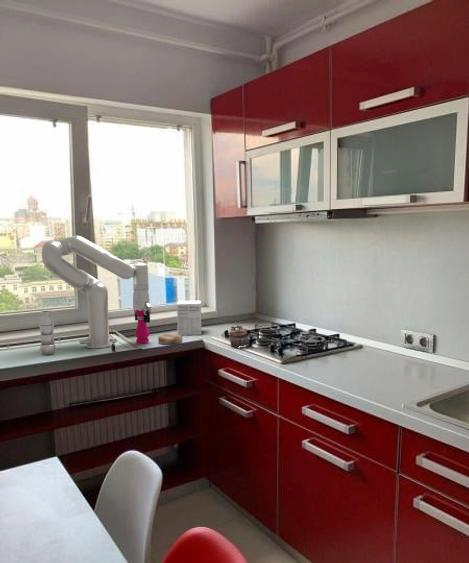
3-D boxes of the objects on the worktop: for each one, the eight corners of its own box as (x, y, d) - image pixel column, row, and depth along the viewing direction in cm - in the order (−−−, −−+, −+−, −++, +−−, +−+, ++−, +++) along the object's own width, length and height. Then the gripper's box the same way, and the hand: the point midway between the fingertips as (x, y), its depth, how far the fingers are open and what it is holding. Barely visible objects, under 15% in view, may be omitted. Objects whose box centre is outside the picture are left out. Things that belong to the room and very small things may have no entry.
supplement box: (201, 334, 254) (200, 303, 253) (177, 335, 253) (176, 303, 252) (201, 330, 267) (201, 300, 266) (178, 331, 266) (177, 300, 265)
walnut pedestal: (166, 345, 228) (165, 339, 228) (154, 341, 237) (154, 336, 237) (186, 342, 235) (186, 336, 235) (174, 338, 245) (174, 333, 244)
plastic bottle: (49, 356, 209) (47, 312, 207) (37, 355, 211) (35, 312, 209) (59, 353, 215) (57, 310, 213) (47, 352, 217) (45, 310, 216)
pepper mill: (152, 341, 238) (151, 303, 236) (143, 344, 231) (141, 304, 230) (142, 340, 241) (140, 302, 240) (132, 343, 235) (131, 304, 233)
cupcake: (240, 349, 218) (240, 328, 217) (225, 346, 224) (224, 326, 223) (253, 345, 225) (252, 325, 224) (237, 343, 231) (237, 323, 230)
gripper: (126, 287, 238) (128, 320, 240) (142, 289, 225) (143, 324, 227) (139, 286, 243) (141, 318, 245) (156, 288, 230) (157, 322, 231)
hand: (142, 321), depth 236 cm, fingers open, 9 cm apart
